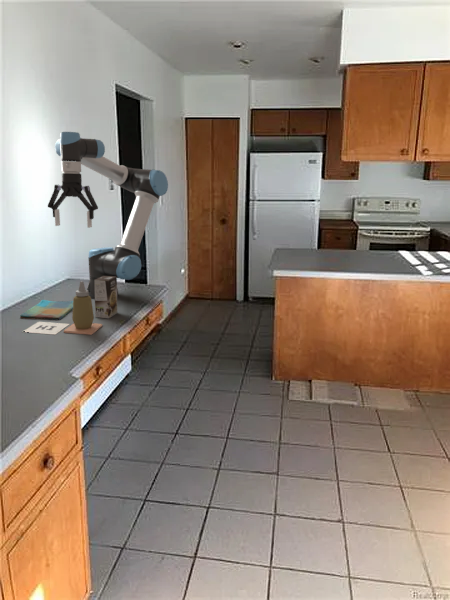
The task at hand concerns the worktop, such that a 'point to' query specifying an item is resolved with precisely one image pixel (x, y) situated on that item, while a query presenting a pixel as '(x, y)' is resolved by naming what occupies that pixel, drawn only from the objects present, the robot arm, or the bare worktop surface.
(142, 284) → the worktop surface
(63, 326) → the white flat square slab
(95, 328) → the coaster pad
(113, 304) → the coffee box
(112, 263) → the robot arm
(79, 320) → the squeeze bottle
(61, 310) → the dish towel
